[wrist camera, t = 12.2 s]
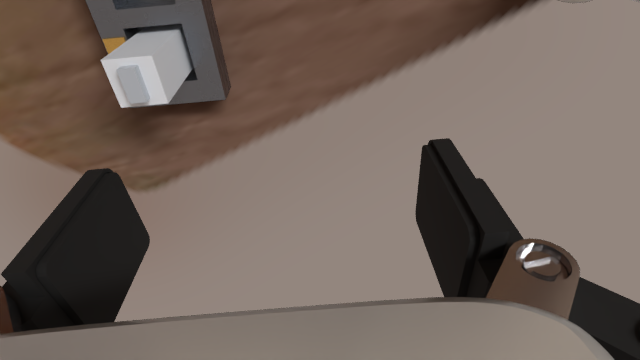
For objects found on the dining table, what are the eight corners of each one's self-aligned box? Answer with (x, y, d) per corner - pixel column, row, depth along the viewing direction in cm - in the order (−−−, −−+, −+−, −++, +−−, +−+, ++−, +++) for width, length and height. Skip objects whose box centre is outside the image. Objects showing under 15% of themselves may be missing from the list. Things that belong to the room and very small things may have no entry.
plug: (185, 23, 36) (148, 58, 28) (196, 63, 39) (165, 107, 30) (145, 27, 36) (95, 63, 28) (158, 67, 39) (117, 111, 30)
